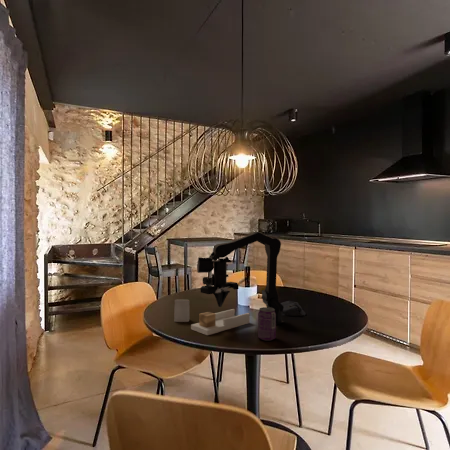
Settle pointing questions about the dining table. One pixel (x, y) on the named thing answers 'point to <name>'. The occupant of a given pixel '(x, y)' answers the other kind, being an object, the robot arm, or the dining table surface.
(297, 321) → the dining table surface
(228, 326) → the trap channel
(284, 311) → the dark slate chunk
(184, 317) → the grey box
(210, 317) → the oak block
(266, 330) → the beverage can
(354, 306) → the dining table surface
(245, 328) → the dining table surface
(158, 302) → the dining table surface
